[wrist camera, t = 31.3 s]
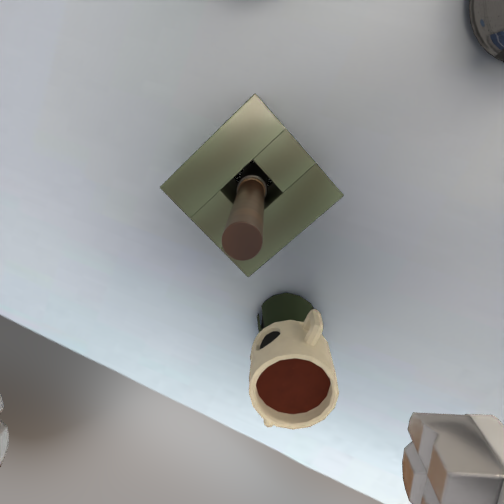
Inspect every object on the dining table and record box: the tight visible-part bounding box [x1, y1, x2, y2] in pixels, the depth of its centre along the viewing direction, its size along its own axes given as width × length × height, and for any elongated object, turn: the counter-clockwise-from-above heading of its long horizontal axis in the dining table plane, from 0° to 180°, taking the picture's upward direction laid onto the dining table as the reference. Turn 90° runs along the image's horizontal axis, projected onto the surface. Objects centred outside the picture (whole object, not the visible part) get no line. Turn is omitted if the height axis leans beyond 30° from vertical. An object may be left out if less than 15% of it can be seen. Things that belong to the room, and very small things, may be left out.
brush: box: [221, 163, 267, 261], centre depth 32 cm, size 2×2×22 cm
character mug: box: [249, 293, 339, 429], centre depth 41 cm, size 11×7×13 cm, turn 158°
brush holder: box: [160, 94, 344, 277], centre depth 38 cm, size 10×10×9 cm
